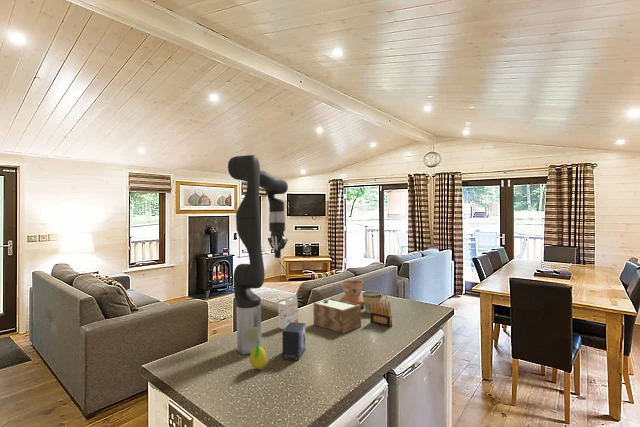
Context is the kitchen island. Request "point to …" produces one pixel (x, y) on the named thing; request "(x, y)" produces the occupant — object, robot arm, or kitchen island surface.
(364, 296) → the ceramic cup
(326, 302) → the lid
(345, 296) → the ceramic jug
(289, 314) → the ink cartridge box
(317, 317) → the wooden box
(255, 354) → the lemon
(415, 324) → the kitchen island surface
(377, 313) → the ammunition clip
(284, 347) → the small box
